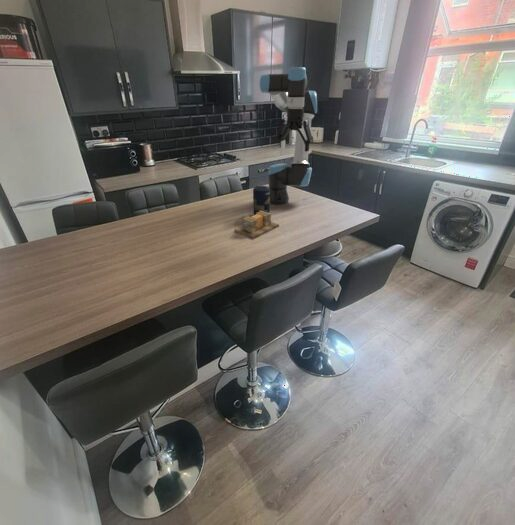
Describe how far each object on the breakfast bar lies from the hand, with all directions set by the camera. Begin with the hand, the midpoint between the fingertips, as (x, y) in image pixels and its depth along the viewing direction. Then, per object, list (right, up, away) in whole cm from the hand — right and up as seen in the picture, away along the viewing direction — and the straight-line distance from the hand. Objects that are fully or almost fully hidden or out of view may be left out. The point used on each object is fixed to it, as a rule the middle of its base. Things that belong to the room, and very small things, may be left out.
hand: (293, 156), depth 144 cm
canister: (-15, -25, +27) cm, 40 cm away
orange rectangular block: (-18, -33, +11) cm, 40 cm away
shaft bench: (-18, -34, +12) cm, 41 cm away
